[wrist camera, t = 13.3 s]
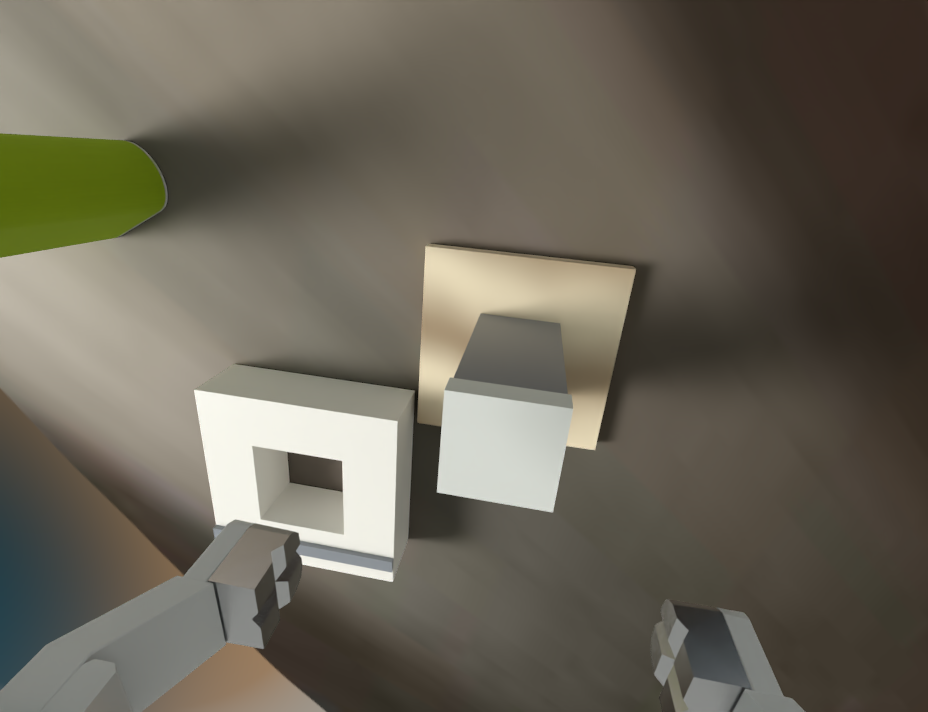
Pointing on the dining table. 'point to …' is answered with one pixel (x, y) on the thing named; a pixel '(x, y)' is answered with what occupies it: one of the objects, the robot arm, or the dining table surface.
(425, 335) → the coaster
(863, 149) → the dining table surface
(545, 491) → the plug
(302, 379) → the white flat square piece
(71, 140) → the vape
